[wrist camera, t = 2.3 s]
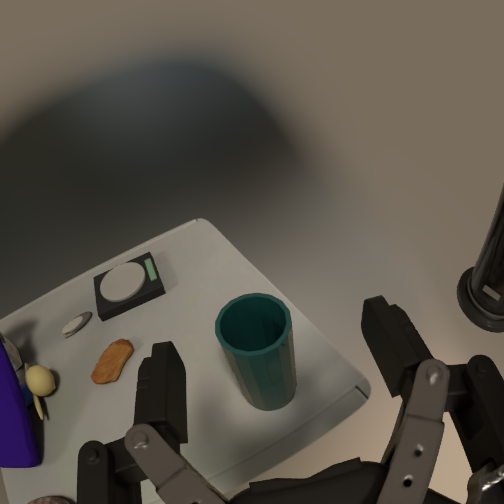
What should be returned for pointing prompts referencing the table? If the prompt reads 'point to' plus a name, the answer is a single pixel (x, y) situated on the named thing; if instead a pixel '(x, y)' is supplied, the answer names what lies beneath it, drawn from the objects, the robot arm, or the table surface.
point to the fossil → (49, 501)
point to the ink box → (11, 352)
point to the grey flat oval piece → (76, 324)
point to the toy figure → (37, 385)
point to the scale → (127, 286)
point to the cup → (259, 348)
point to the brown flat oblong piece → (112, 362)
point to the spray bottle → (14, 420)
